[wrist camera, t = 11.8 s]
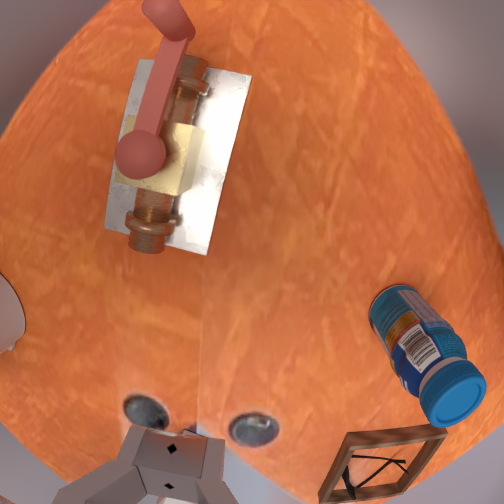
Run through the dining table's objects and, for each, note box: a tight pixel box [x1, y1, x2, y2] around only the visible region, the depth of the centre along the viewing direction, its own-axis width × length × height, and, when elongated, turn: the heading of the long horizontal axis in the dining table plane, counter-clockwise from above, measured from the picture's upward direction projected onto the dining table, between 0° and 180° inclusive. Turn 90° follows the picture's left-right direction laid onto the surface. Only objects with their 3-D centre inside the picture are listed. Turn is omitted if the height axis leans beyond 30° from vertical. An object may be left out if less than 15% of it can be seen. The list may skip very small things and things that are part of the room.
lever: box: [115, 0, 195, 180], centre depth 22 cm, size 16×4×7 cm, turn 163°
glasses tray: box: [318, 424, 448, 504], centre depth 51 cm, size 21×24×4 cm
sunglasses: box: [342, 455, 409, 500], centre depth 51 cm, size 17×14×5 cm
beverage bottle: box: [369, 285, 487, 428], centre depth 32 cm, size 8×8×20 cm
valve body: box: [104, 55, 252, 255], centre depth 32 cm, size 22×14×9 cm, turn 165°
